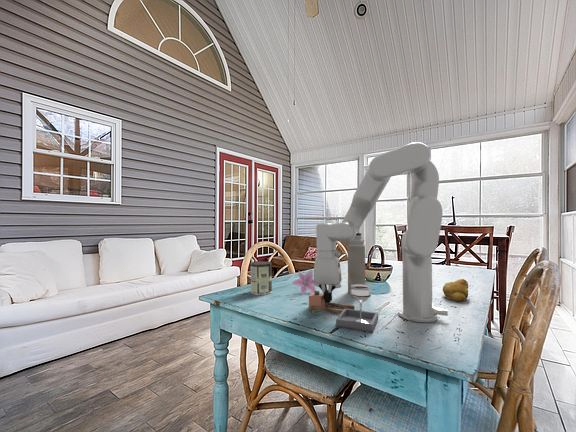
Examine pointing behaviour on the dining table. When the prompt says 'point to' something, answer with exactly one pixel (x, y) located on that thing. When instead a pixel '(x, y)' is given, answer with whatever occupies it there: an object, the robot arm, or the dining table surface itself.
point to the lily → (305, 282)
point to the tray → (348, 321)
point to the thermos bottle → (356, 261)
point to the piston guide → (332, 310)
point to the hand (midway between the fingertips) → (327, 301)
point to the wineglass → (360, 296)
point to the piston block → (316, 299)
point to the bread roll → (456, 290)
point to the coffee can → (261, 277)
